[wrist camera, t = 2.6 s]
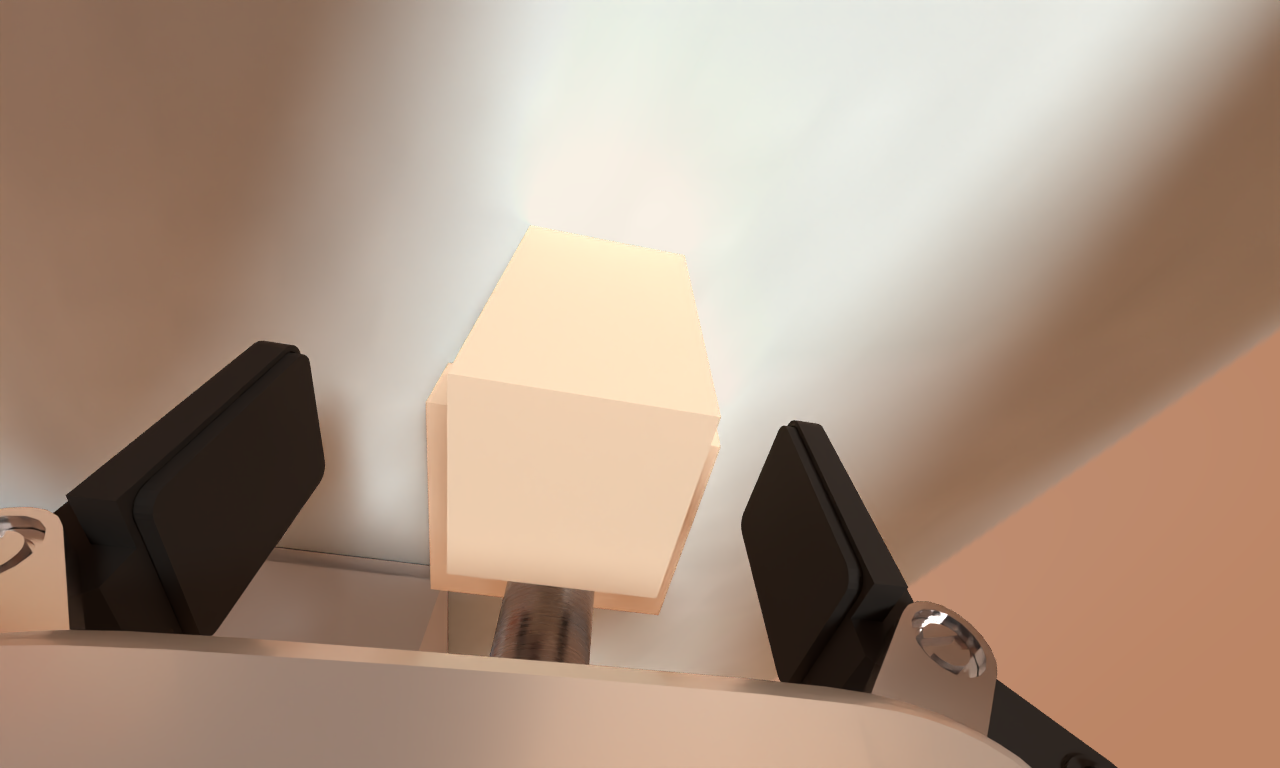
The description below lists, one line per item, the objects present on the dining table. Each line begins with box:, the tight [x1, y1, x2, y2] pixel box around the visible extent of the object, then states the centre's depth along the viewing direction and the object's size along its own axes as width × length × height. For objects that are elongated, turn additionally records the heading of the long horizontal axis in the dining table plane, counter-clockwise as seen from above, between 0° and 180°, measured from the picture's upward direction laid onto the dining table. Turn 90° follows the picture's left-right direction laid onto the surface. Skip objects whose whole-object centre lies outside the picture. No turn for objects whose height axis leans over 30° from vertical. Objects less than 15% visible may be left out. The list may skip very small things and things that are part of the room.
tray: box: [212, 547, 448, 653], centre depth 22 cm, size 18×13×4 cm
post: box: [490, 581, 595, 665], centre depth 14 cm, size 2×2×9 cm
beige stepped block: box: [426, 225, 721, 615], centre depth 14 cm, size 8×12×7 cm, turn 169°
